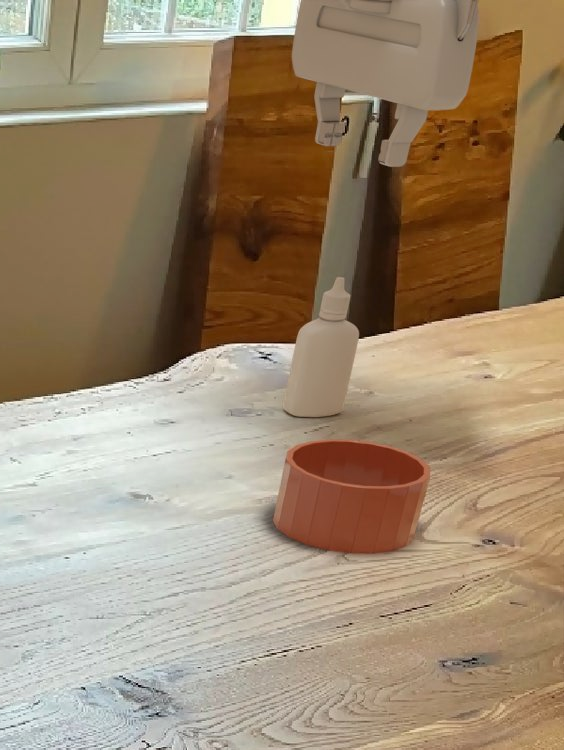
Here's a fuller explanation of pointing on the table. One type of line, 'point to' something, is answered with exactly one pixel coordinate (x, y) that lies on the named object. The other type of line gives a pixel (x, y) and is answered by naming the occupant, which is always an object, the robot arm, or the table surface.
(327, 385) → the eye dropper bottle
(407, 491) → the cup
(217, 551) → the table surface
